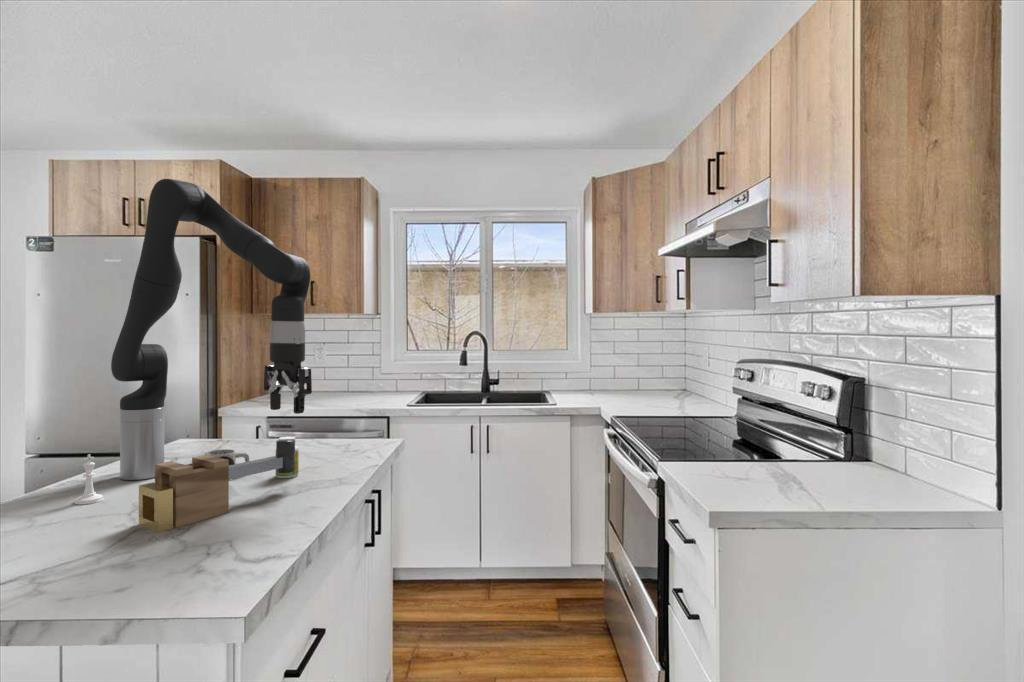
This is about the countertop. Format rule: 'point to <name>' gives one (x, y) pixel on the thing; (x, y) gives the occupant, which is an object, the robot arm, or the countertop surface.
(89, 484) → the chess piece
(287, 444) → the shaft
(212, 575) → the countertop surface
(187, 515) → the bearing block
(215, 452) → the mug
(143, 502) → the block
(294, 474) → the supplement bottle
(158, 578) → the countertop surface
